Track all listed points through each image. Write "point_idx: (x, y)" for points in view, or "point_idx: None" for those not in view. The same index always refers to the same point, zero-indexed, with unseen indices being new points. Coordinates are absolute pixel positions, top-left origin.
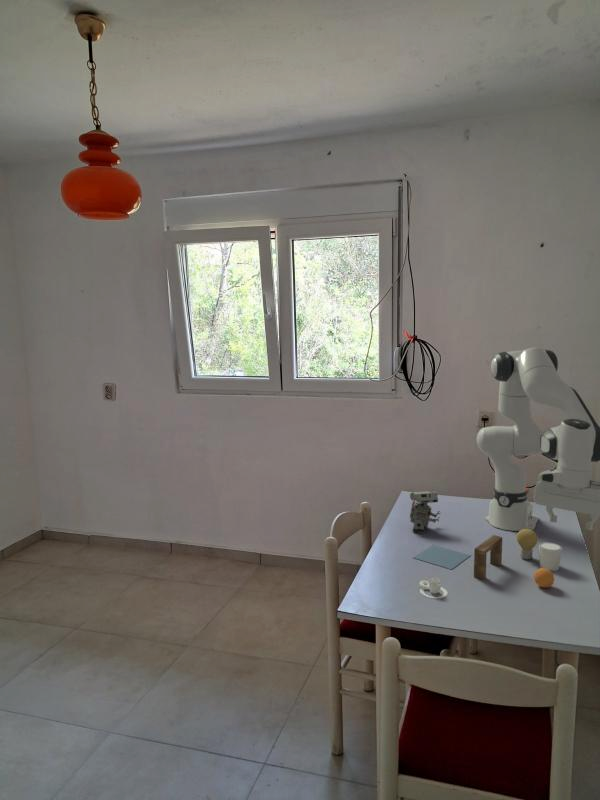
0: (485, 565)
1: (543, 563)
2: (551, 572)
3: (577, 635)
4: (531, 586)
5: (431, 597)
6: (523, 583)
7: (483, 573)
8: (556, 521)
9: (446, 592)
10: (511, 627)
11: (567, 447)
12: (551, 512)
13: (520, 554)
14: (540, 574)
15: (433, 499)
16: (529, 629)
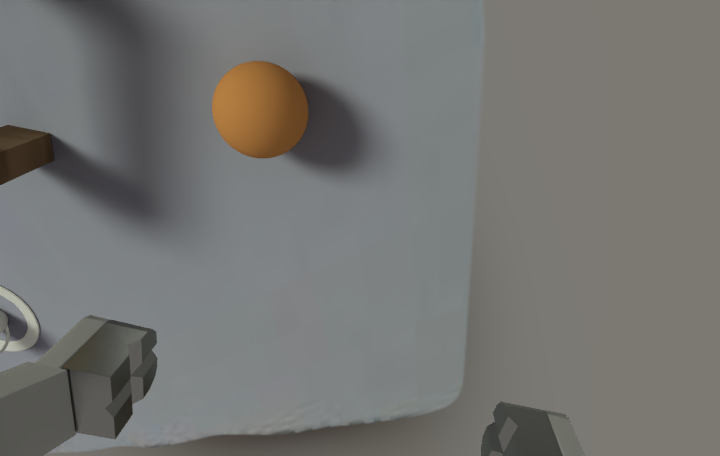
0: (3, 158)
1: None
2: (284, 110)
3: (422, 378)
4: None
5: (15, 349)
6: (193, 112)
7: (33, 168)
8: (154, 340)
9: (24, 307)
10: (259, 401)
11: None
12: (13, 440)
13: None
14: (243, 152)
15: None
16: (302, 395)
